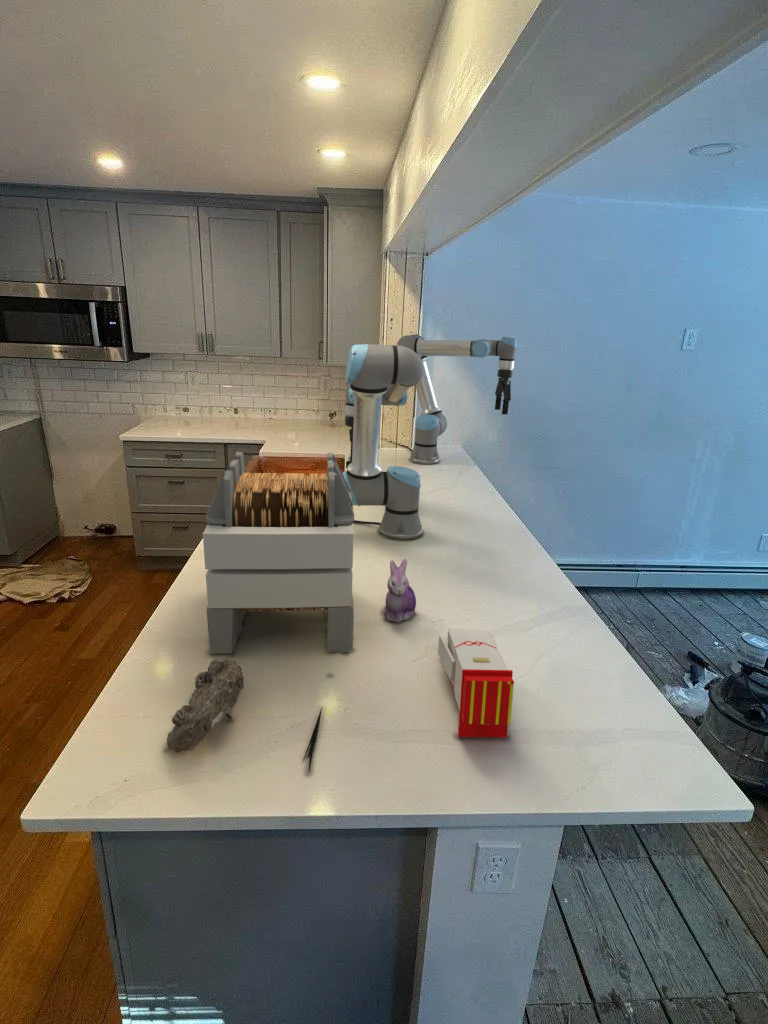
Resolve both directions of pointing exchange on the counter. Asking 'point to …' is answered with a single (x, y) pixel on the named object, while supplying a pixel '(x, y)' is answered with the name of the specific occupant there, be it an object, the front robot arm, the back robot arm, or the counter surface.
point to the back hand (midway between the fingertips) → (500, 411)
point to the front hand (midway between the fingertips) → (353, 472)
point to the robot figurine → (347, 462)
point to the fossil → (206, 705)
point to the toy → (478, 682)
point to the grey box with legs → (279, 550)
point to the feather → (313, 740)
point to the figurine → (399, 594)
